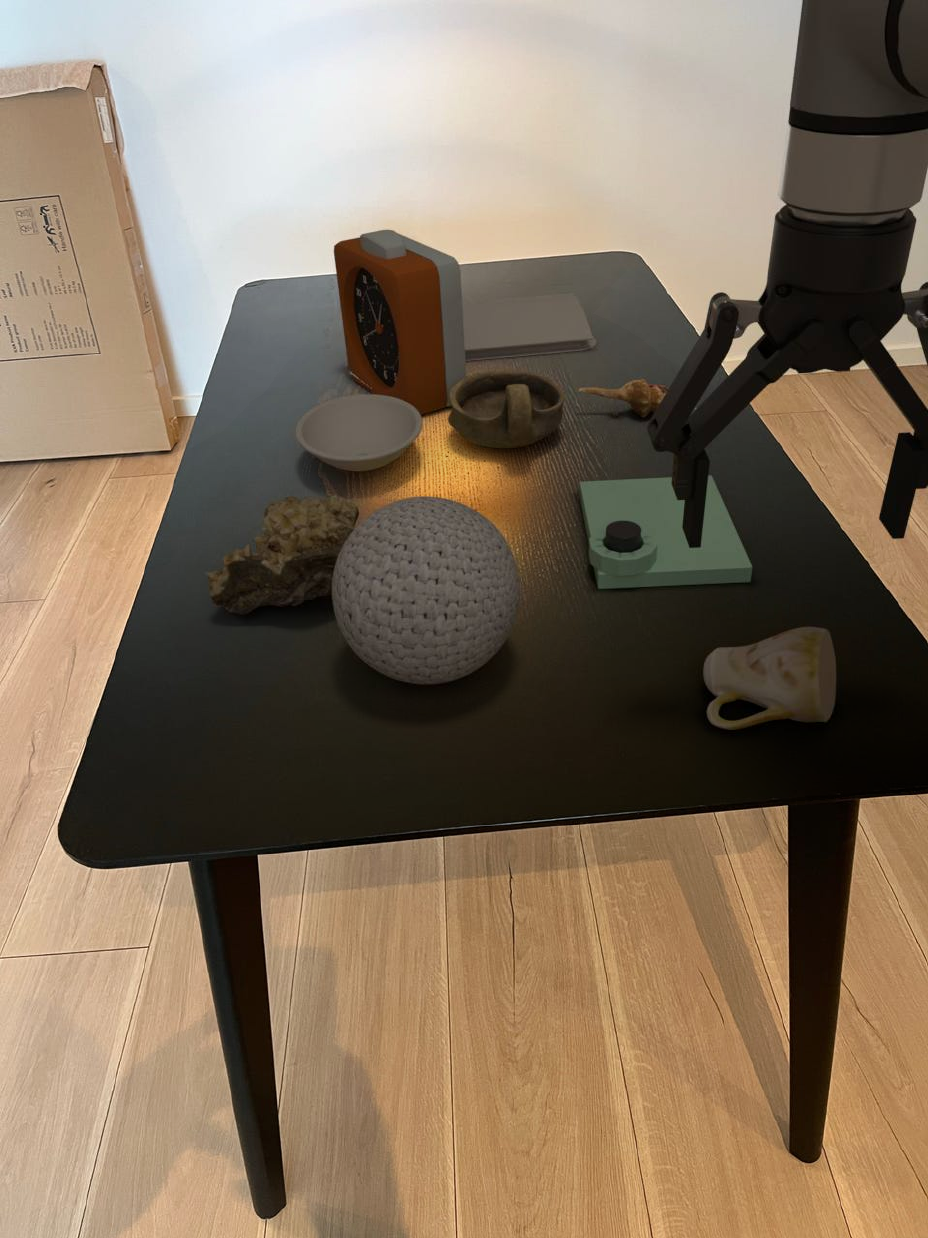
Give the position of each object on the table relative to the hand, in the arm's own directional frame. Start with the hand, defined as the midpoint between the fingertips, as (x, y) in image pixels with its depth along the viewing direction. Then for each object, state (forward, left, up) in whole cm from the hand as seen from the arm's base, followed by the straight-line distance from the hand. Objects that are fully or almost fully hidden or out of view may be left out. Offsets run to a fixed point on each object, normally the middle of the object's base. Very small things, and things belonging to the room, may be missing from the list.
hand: (790, 533), depth 67 cm
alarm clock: (+66, +31, -16) cm, 74 cm away
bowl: (+48, +18, -16) cm, 53 cm away
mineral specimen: (+20, +39, -16) cm, 46 cm away
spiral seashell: (+55, +2, -16) cm, 57 cm away
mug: (0, 0, -16) cm, 16 cm away
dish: (+45, +35, -16) cm, 59 cm away
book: (+84, +16, -16) cm, 87 cm away
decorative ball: (+7, +26, -16) cm, 31 cm away
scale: (+26, +4, -15) cm, 30 cm away
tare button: (+19, +8, -12) cm, 24 cm away
